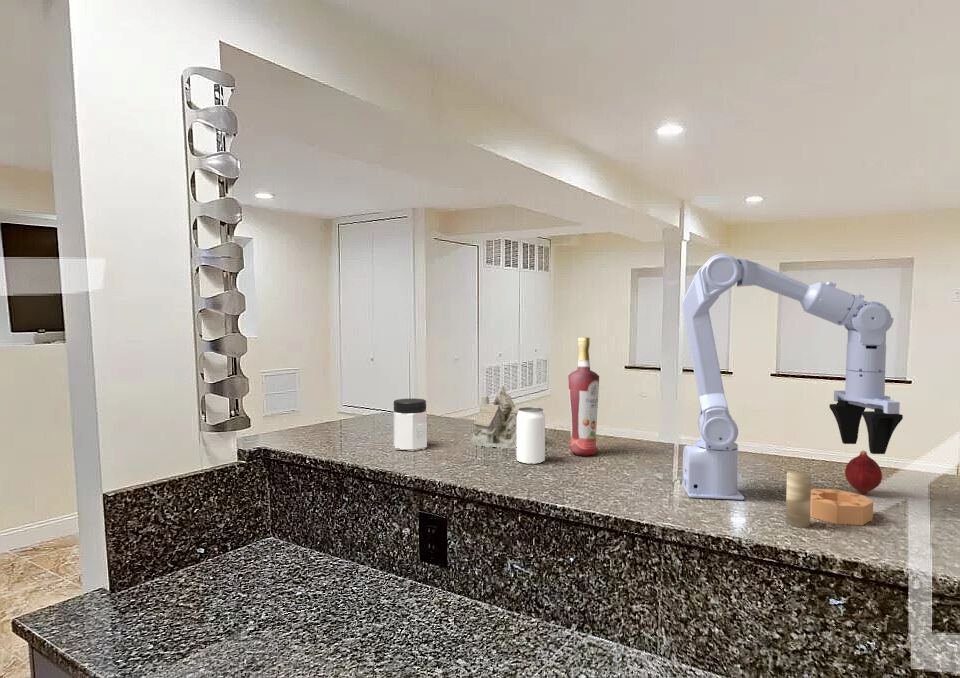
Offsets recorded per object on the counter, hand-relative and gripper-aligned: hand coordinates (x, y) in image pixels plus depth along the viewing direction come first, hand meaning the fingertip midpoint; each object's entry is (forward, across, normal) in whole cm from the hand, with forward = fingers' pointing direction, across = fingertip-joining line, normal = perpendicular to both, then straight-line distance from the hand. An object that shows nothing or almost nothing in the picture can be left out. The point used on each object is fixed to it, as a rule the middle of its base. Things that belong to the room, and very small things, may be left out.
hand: (862, 448), depth 102 cm
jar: (+11, +45, +84) cm, 96 cm away
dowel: (+10, -9, +16) cm, 21 cm away
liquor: (+10, +38, +42) cm, 58 cm away
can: (+11, +31, +55) cm, 64 cm away
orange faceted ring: (+10, -5, +7) cm, 13 cm away
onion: (+10, +7, -5) cm, 13 cm away
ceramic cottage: (+11, +50, +60) cm, 79 cm away
